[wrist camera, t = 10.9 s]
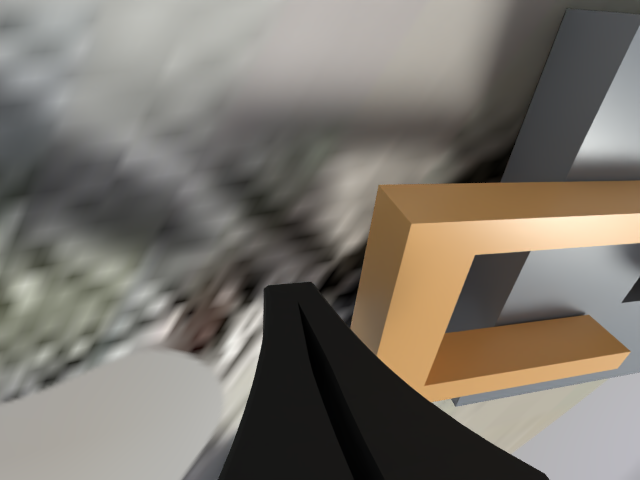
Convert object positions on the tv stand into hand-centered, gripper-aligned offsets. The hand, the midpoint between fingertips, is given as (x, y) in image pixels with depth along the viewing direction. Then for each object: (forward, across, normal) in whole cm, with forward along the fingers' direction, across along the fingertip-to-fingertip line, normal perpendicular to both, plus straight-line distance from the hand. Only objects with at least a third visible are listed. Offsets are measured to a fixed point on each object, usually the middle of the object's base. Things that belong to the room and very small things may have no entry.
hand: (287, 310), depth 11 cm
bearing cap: (+1, -8, 0) cm, 8 cm away
